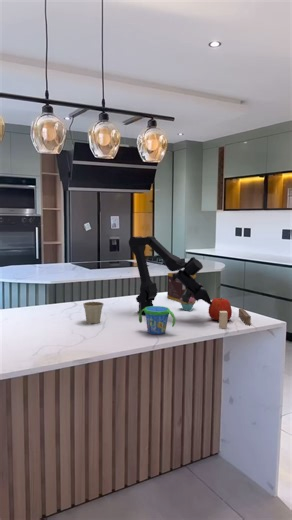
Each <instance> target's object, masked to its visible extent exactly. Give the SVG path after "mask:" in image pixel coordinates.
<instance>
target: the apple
mask: <svg viewBox="0 0 292 520" xmlns="http://www.w3.org/2000/svg"><path fill="white" fill-rule="evenodd" d="M211 302H212V304H211V305H210V304H209V307H208V315H209V317H210V319H212V320H215V321H218V320H219V311H227V313H228V314H227V321H229V320H230V319H231V318H232V313H233V310H232V306H231V303H230V301H229V300H228V299H226V298H222V297H221V298H220V297H218V298H217V297H216V298H213V299H211Z"/></svg>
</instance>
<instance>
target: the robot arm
mask: <svg viewBox="0 0 292 520" xmlns="http://www.w3.org/2000/svg"><path fill="white" fill-rule="evenodd" d="M147 245H148V246H149V247H150V248H151V249H152V250H153V251H154V252H155V253H156V254H157V255H158V256H159V257H160V258H161V259H162V260H163V262H164V265H165V267H167V268H166V269H168V270H169V272H172V273H173V275H172V276H173V281H174V280H175V279H176V278H177V279H178V280H179V281H180V282H181V283H182V284H183V285H184V286H185V289H186V290H185V292H184V294H183V296H182V299H181V300H182V301H183V302H185V303H188V302H189V299H190V297H191V295H192V296H193V295H194V299H195V302H198V301H199V300H202V301H203V302H205V303H207V304H208V305H209V306H210V305H211V304H212V299H211V297H210V296H209V294H208V291H207V290H206V288H204V285H203V284H202V283H200V282H198V281H197V279H196V280H195V279H194V278H193V277H192V276H194V275H196V274H197V273H198V272H200V271H201V270H202V269H203V268H204V266H203V264H202V262H201V261H199V260H198V259H196V258H195V257H194V256H192V257H191V258H189V260H188V261H186V262H185V261H184V260H183V259H182V258H180V257H179V256H177V255H175V254H173V253H171V252H170V251H169V250H168V249H167V248H166V247H165V246H164V245H162V244H161V243H160V241H158V240H157V238H156V237H155V236H153V235H148V236H145V237H143V236H131V237H130V238H129V240H128V246H129V248H130V250H131V252H132V254H133V255H134V256H135V262H136V266H137V269H138V274H139V278H140V287H139V294H138V295H137V296H136V297H135V299H136V303H138V311H137V314H138V315H139V314H140V312H141V311H142V310H143V309H145V308H146V307H149V306H154V303H153V301H155V299H156V297H157V295H158V288H157V283H156V282H153V281H152V280H151V276H150V271H149V268H148V267H149V266H148V263H147V258H146V253H145V252H146V246H147ZM175 272H177V273H175ZM191 275H192V276H191ZM141 316H146V315H145V312H144V311H143V312H142V315H141Z"/></svg>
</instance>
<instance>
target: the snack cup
mask: <svg viewBox="0 0 292 520" xmlns="http://www.w3.org/2000/svg"><path fill="white" fill-rule="evenodd" d="M143 311H144V312H145V315H144V316H145V322H146V328H147V332H148V333H149V334H152V335H162V334H165V333H166V331H167V325H168V319H169V316H170V317H171V318H172V325H171V327H172V328H173V327H175V324H176V317H175V315H174V313H173V311H171V310H170V308H169V307H167V306H163V305H153V306H149V307H146V308H145V309H143V310H142V311H141V312H140V314H139V313H138V322H139V323H142V322H143V317H142V316H143V315H142V312H143Z"/></svg>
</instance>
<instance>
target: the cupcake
mask: <svg viewBox="0 0 292 520" xmlns="http://www.w3.org/2000/svg"><path fill="white" fill-rule="evenodd" d="M181 299H182V298H180V300H179V302H178V303H179V304H180V305H181V307H182V310H184V311H192V310H193V307H194V304H196V300H195V299H194V298H192V297H190V299H189V302H188V303H185V302H183V301H182V300H181Z"/></svg>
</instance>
